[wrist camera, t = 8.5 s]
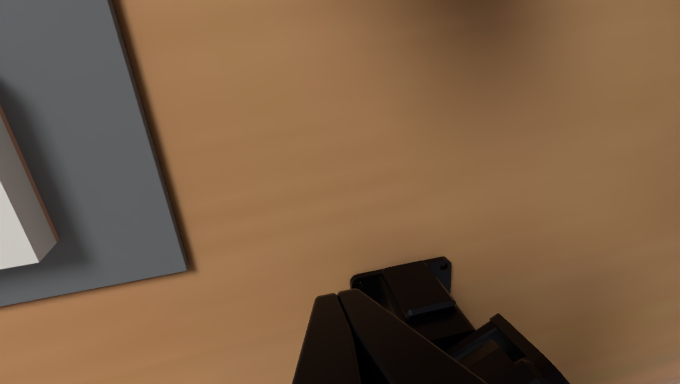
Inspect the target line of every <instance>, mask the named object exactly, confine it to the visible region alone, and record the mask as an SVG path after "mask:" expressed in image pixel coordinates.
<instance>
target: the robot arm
mask: <svg viewBox="0 0 680 384" xmlns="http://www.w3.org/2000/svg"><path fill="white" fill-rule="evenodd" d="M444 263H445V264H444ZM442 264H444V265H443V266H442V267H441V265H442ZM359 281H362V282H361V283H360V284H356V283H357V282H359ZM450 288H451V262H450V261H449V260H448V259H447V258H446V257H438V258H433V259H428V260H424V261H417V262H412V263H407V264H403V265H398V266H393V267H388V268H385V269H380V270H376V271H371V272H366V273H361V274H357V275H354V276H353V277H352V278H351V280H350V289H349V290H345V291H340V292H339V293H338V294H337V295H336V294H335V293H331V294H326V295H321V296H318V297H316V299H315V301H314V305H313V309H312V312H311V316H310V320H309V323H308V327H307V331H306V334H305V338H304V342H303V345H302V349H301V353H300V356H299V360H298V364H297V367H296V371H295V375H294V378H293V382H292V384H570V383H569V382H568V381H567V380H566V379H565V377H564V376H563V375H562V374H561V373H560V372H559V370H558V369H557V368H556V367H555V366H554V365H553V364H552V363H551V362H550V361H549V360H548V359H547V358H546V357H545V356H544V355H543V354H542V353H541V352H540V351H539V350H538V349H537V348H536V347H535V346H533V345H532V344H531V343H530V342H529V341H528V340H527V339H526V338H525V337H524V336H523V335H522V334H521V333H519V332H518V331H517V330H516V329H515V328H514V327H513V326H512V325H511V324H510V323H509V322H508V321H507V320H505V319H504V318H503V317H502V316H501V315H500V314H499V313H498V314H496V315H495V316H493V317H492V318H490V321H489V322H488V323H486V324H485V325H483V326H482V327H480V328H478V329H477V330H476V329H475V328H474V327H473V325H472V324H471V323H470V321H469V320H468V319H467V317H466V316H465V315H464V314H463V312H462V311H461V310H460V308H459V307H458V306H457V305H456V302H455V300H454V299H453V297H452V296H451V295H450Z"/></svg>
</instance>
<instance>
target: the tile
mask: <svg viewBox="0 0 680 384" xmlns="http://www.w3.org/2000/svg"><path fill="white" fill-rule="evenodd" d="M59 240H60V239H59V237H58V235H57V232H56V230H55V228H54V226H53V223H52V221H51V219H50V216H49V214H48V212H47V210H46V207H45V205H44V203H43V201H42V198H41V196H40V194H39V191H38V189H37V187H36V185H35V182H34V180H33V178H32V175H31V173H30V171H29V169H28V166H27V164H26V162H25V159H24V157H23V155H22V153H21V150H20V148H19V146H18V144H17V141H16V139H15V137H14V134H13V132H12V130H11V128H10V125H9V123H8V121H7V118H6V116H5V114H4V112H3V109H2V107H1V105H0V269H5V268H11V267H16V266H22V265H28V264H33V263H39V262H40V261H41V260H42V259H43V258H44V256H45V255H46V254H47V253H48V252H49V251H50V250H51V249H52V248H53V246H54V245H55V244H56V243H57V242H58V241H59Z"/></svg>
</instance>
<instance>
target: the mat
mask: <svg viewBox="0 0 680 384" xmlns="http://www.w3.org/2000/svg"><path fill="white" fill-rule="evenodd" d="M0 105H1V107H2V109H3V112H4V114H5V116H6V118H7V121H8V123H9V125H10V128H11V130H12V132H13V134H14V137H15V139H16V141H17V144H18V146H19V148H20V150H21V153H22V155H23V157H24V159H25V162H26V164H27V166H28V169H29V171H30V173H31V175H32V178H33V180H34V182H35V185H36V187H37V189H38V191H39V194H40V196H41V198H42V201H43V203H44V205H45V207H46V210H47V212H48V214H49V216H50V219H51V221H52V223H53V226H54V228H55V230H56V232H57V235H58V237H59V239H60V240H59V241H58V242H57V243H56V244H55V245H54V246H53V248H52V249H51V250H50V251H49V252H48V253H47V254H46V255H45V256H44V258H43V259H42V260H41V261H40V262H39V263H33V264H28V265H22V266H16V267H11V268H5V269H0V306H5V305H11V304H16V303H21V302H26V301H31V300H37V299H42V298H47V297H52V296H58V295H63V294H68V293H73V292H78V291H84V290H89V289H94V288H99V287H105V286H110V285H115V284H120V283H125V282H131V281H136V280H141V279H146V278H152V277H157V276H162V275H167V274H172V273H178V272H183V271H187V268H188V261H187V258H186V255H185V251H184V248H183V244H182V241H181V237H180V234H179V230H178V227H177V224H176V220H175V217H174V213H173V210H172V206H171V203H170V199H169V196H168V193H167V189H166V186H165V182H164V179H163V175H162V172H161V169H160V165H159V162H158V158H157V155H156V151H155V148H154V144H153V141H152V138H151V134H150V131H149V127H148V124H147V120H146V117H145V113H144V110H143V107H142V103H141V100H140V96H139V93H138V89H137V86H136V82H135V79H134V76H133V72H132V69H131V65H130V62H129V58H128V55H127V52H126V48H125V45H124V41H123V38H122V34H121V31H120V27H119V24H118V21H117V17H116V14H115V10H114V7H113V3H112V0H0Z"/></svg>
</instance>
